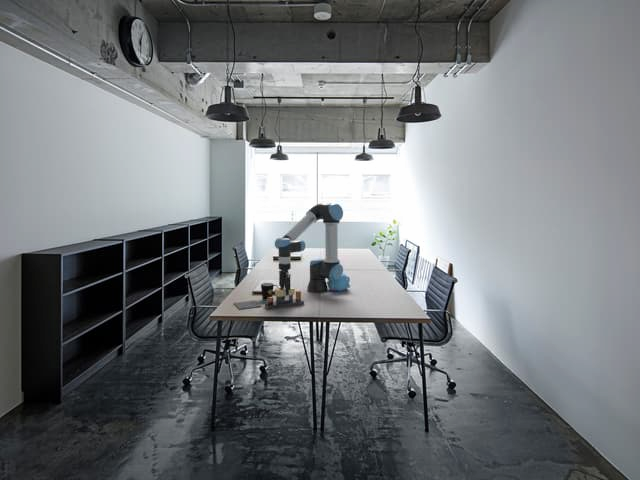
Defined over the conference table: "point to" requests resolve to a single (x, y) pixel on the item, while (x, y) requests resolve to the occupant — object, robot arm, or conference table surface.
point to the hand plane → (282, 303)
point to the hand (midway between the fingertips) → (284, 298)
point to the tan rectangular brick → (281, 292)
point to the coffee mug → (267, 290)
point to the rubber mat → (247, 305)
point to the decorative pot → (339, 283)
